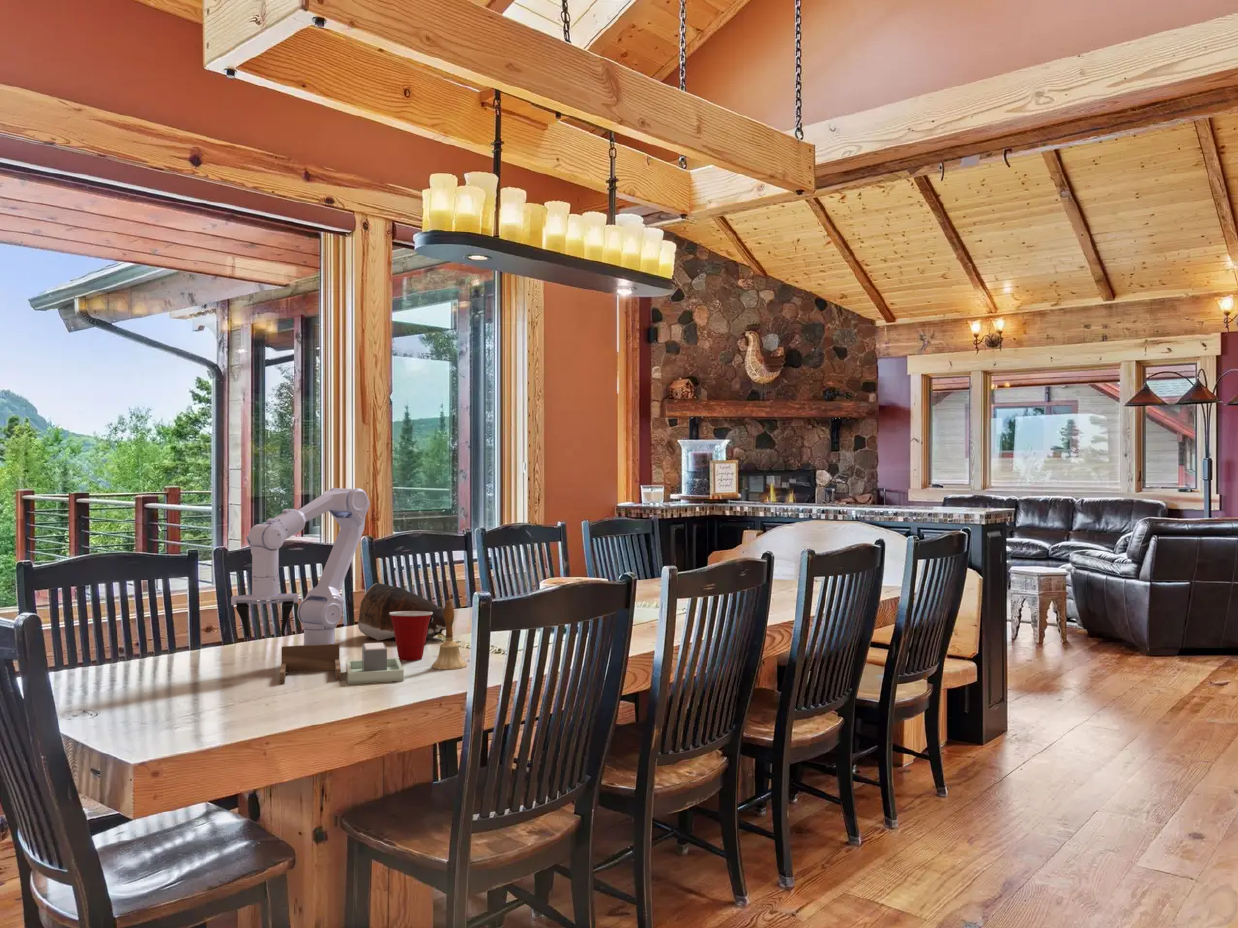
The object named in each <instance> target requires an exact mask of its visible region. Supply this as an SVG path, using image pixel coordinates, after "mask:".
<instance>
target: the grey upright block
mask: <svg viewBox="0 0 1238 928" xmlns="http://www.w3.org/2000/svg"><path fill="white" fill-rule="evenodd" d="M361 645H362V646H361V651H362V652H361V653H362V654H361V660H362V671H363V672H367V671H383V670H387V659H388V649H387V647H386V644H385V643H384V642H368V643H367V642H366V643H363V644H361Z"/></svg>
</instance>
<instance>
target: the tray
mask: <svg viewBox="0 0 1238 928" xmlns="http://www.w3.org/2000/svg"><path fill="white" fill-rule="evenodd" d="M345 663H346V664H345V665H346V667H345V668H346V671H345V673H346V679H347V684H351V685H362V684H363V683H367V684H378V683H377V682H382V683H391V682H392V681H395V683H397V682H404V675H405V674H404V671H405V670H404V667H403V665H402V663H401V660H400V659H399V657H394V658H392V657H389V658H387V670H383V671H367V672H363V671H362V659H359V660H358V659H357V660H346V661H345ZM396 681H397V682H396ZM392 683H393V682H392Z"/></svg>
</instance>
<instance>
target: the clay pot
mask: <svg viewBox="0 0 1238 928" xmlns="http://www.w3.org/2000/svg"><path fill="white" fill-rule="evenodd" d="M398 611H426V612H433V614H432V615H431V617H430V620H429V624H428V630H427V636H426V639H434V637H436V636H437V635H440V634H442V633H443V631H446V625H445V621H444V608H443V607H442V606H438V605H437V604H435V603H433V601H431V600H428V599H426V598H424V597H420V596H419V595H418V594H416V593H414V592H411V591H408V590H406V589H404V588H403V587H400V586H399V587H398V586H395V585H394V586H393V585H390V584H384V583H382V582H376V583H374V584H373V585H371V586H370V587H369V588H368V589H367V591H366V592H365V594H364V595H363V597H362V600H361V602H360V605H359V614H358V619H357V626H358V627H357V628H358V630H359V631H360V633H361V634H363V635H365V636H368V637H369V638H372V639H374V640H377V641H378V640H380V641H383V640H387V639H391V638H395V635H394V628H393V624H392V619H391V616H390V615H389V613H390V612H398Z"/></svg>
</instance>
